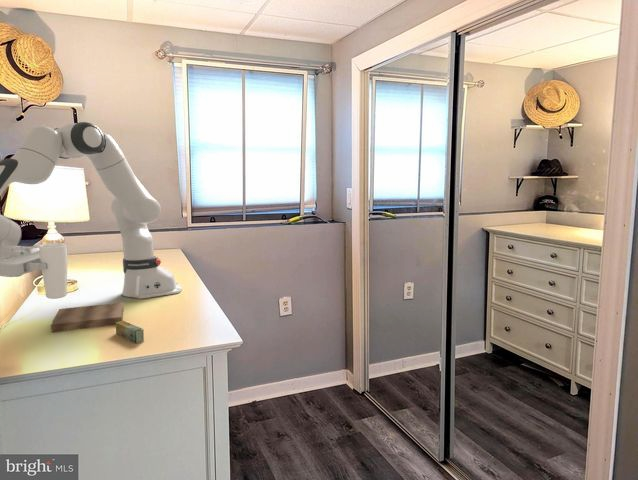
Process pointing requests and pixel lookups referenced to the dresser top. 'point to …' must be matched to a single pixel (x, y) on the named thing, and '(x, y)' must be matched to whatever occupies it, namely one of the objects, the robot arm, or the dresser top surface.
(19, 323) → the dresser top surface
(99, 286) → the dresser top surface
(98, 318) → the walnut board
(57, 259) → the drinking glass
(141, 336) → the medication box
